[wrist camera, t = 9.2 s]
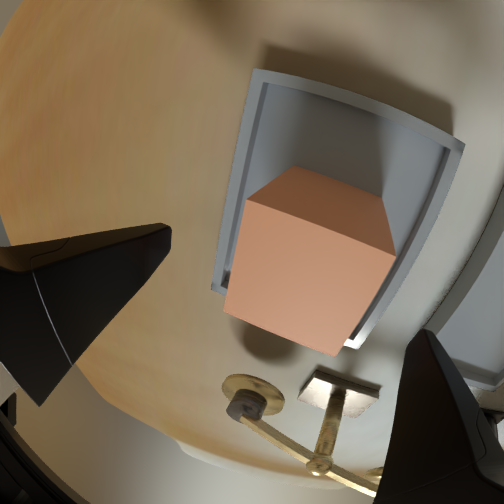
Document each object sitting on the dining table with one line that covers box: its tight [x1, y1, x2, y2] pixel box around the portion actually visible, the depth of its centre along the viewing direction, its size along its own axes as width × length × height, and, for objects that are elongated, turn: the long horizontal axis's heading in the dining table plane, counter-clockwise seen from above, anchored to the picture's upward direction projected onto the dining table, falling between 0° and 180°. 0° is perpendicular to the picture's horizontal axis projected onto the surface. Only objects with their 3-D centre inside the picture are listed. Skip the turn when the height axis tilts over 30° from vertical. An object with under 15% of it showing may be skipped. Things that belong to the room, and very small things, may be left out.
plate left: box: [211, 68, 465, 350], centre depth 13 cm, size 10×13×2 cm
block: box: [223, 165, 396, 357], centre depth 11 cm, size 4×4×6 cm
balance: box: [222, 370, 384, 497], centre depth 16 cm, size 18×5×9 cm, turn 77°
